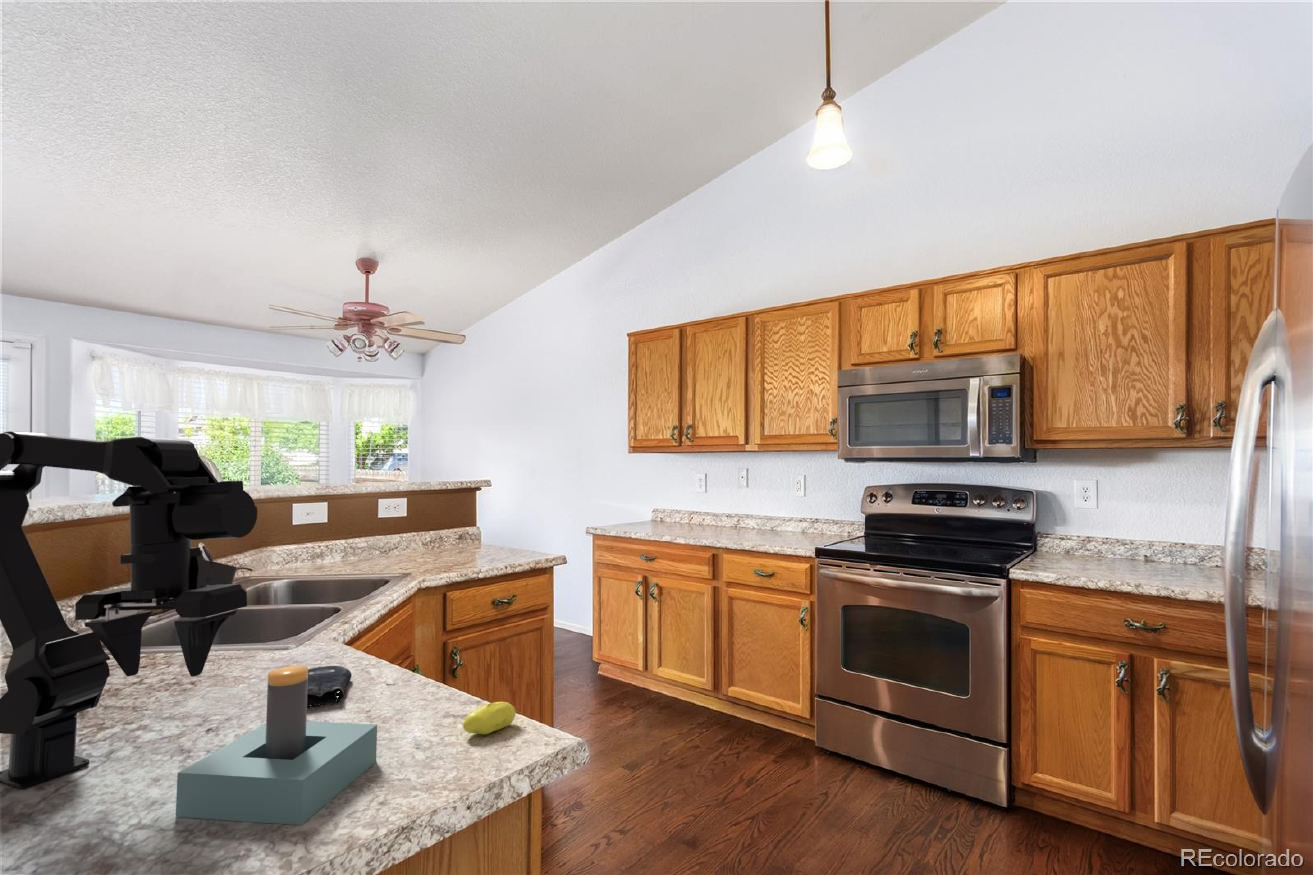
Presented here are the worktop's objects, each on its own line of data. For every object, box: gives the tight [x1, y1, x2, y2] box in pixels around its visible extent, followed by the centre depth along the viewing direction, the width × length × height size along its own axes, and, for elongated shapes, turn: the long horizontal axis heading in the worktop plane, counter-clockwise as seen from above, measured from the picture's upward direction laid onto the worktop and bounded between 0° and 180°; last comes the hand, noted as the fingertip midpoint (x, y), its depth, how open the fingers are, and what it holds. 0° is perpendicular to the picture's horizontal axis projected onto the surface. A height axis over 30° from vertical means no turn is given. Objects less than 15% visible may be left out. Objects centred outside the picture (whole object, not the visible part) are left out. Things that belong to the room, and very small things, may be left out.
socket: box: [175, 720, 378, 826], centre depth 71 cm, size 14×14×4 cm
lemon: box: [462, 701, 516, 735], centre depth 87 cm, size 4×8×4 cm, turn 132°
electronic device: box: [307, 665, 352, 710], centre depth 101 cm, size 9×6×15 cm
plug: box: [265, 665, 309, 760], centre depth 72 cm, size 4×4×13 cm
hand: (163, 675), depth 74 cm, fingers open, 9 cm apart
